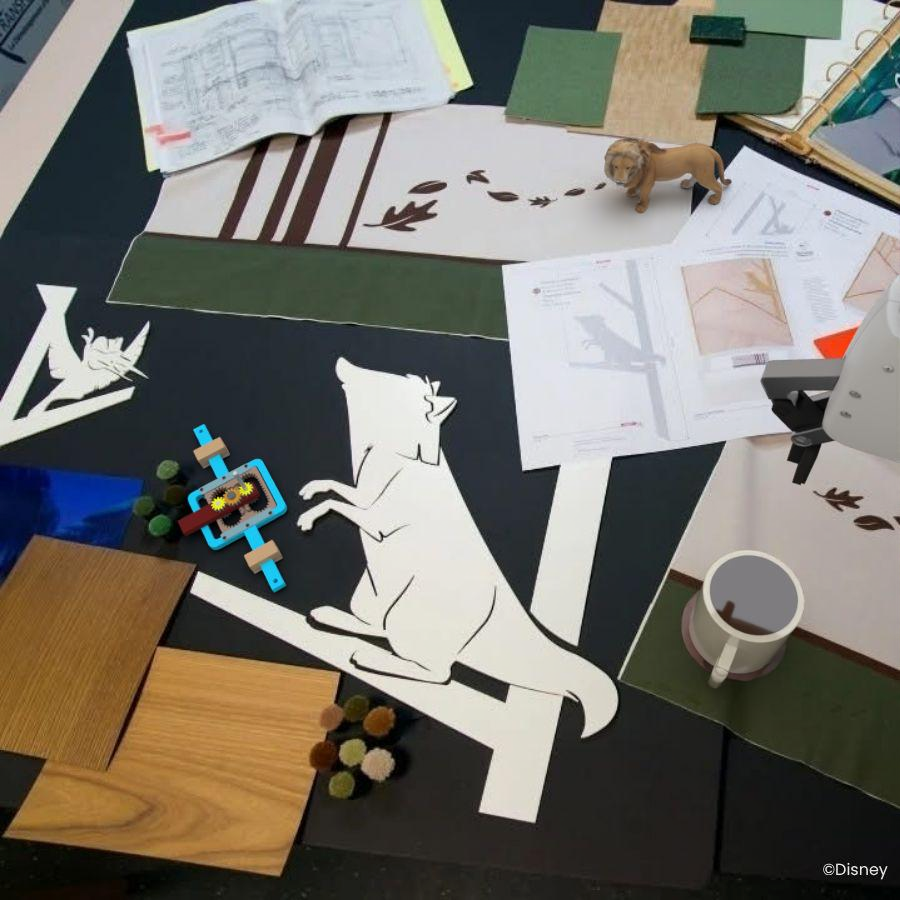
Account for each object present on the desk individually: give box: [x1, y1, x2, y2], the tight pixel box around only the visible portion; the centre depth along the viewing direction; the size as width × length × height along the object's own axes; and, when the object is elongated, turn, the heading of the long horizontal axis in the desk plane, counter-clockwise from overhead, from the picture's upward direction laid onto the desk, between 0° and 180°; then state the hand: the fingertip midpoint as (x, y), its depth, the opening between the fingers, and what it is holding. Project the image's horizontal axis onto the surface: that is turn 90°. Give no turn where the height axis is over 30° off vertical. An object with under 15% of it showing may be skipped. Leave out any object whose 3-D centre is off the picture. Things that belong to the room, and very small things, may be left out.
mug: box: [688, 549, 806, 689], centre depth 66 cm, size 10×7×8 cm
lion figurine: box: [603, 137, 733, 213], centre depth 92 cm, size 15×5×9 cm, turn 100°
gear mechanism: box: [177, 423, 288, 593], centre depth 80 cm, size 20×5×9 cm
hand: (886, 490), depth 51 cm, fingers open, 9 cm apart
